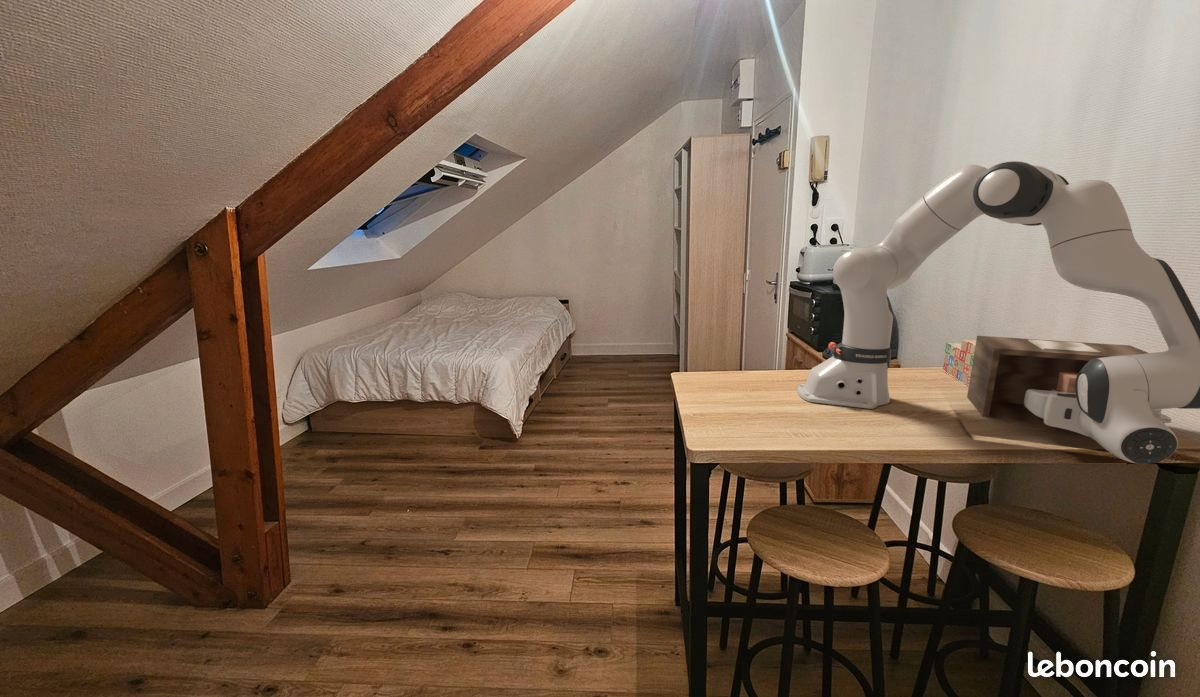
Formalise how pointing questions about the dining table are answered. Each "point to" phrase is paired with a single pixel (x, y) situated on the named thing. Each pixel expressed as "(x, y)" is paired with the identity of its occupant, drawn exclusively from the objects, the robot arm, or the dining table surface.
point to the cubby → (1026, 371)
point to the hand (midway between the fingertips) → (1073, 395)
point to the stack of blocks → (960, 359)
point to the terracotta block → (1067, 382)
